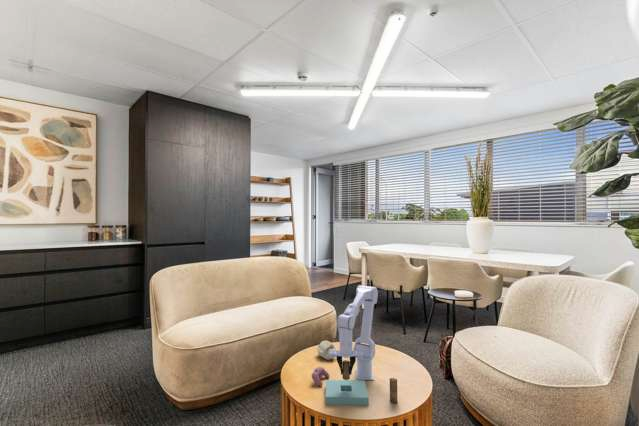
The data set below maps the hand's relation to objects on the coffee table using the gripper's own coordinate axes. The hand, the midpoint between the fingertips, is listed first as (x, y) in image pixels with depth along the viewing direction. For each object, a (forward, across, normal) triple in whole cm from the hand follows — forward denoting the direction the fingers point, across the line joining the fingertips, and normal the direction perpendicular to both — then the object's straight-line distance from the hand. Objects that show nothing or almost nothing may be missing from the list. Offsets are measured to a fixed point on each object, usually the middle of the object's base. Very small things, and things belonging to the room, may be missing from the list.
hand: (346, 373), depth 132 cm
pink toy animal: (+10, -12, +12) cm, 19 cm away
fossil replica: (+10, -9, +38) cm, 40 cm away
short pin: (+2, 0, 0) cm, 2 cm away
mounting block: (+9, 0, 0) cm, 9 cm away
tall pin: (+9, +20, -4) cm, 22 cm away
